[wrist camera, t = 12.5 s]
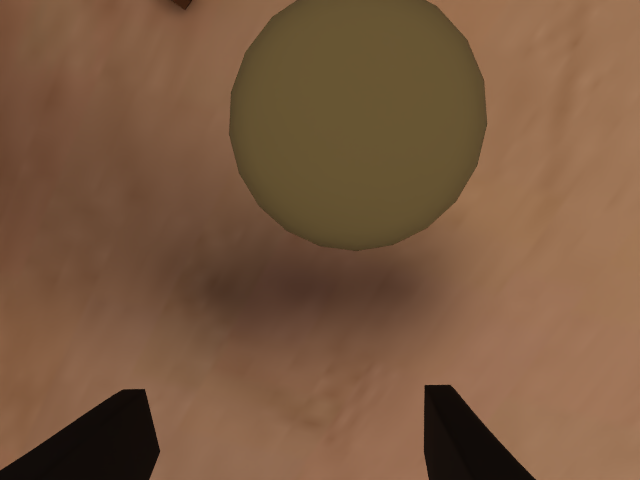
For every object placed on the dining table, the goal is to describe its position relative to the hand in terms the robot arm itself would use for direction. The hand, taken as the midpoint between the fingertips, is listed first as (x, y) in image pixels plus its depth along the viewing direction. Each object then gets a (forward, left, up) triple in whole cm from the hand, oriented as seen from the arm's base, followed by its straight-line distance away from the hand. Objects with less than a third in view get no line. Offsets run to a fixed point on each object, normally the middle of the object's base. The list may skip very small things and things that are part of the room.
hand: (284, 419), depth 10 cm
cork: (+2, +7, -10) cm, 12 cm away
